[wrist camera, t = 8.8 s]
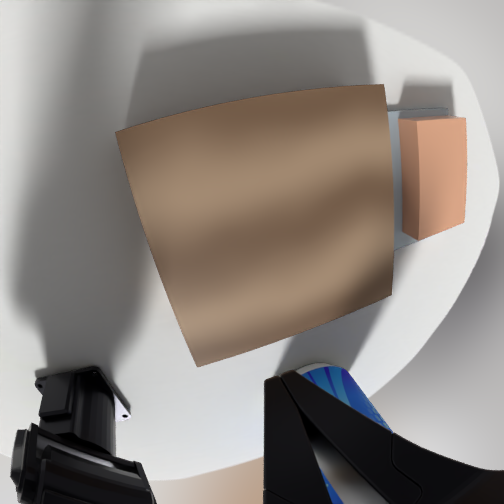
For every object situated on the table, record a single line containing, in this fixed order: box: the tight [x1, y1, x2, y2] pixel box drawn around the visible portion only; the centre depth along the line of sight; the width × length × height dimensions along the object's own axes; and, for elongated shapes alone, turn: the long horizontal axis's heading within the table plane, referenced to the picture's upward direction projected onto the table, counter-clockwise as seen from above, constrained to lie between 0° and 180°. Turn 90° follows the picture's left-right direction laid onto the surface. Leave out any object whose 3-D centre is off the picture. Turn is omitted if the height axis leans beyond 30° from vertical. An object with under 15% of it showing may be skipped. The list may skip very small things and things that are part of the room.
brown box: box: [115, 84, 394, 367], centre depth 18 cm, size 14×14×4 cm
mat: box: [388, 108, 448, 250], centre depth 22 cm, size 11×10×1 cm
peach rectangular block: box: [398, 115, 467, 241], centre depth 21 cm, size 9×6×2 cm, turn 10°
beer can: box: [296, 363, 393, 504], centre depth 22 cm, size 8×8×16 cm
